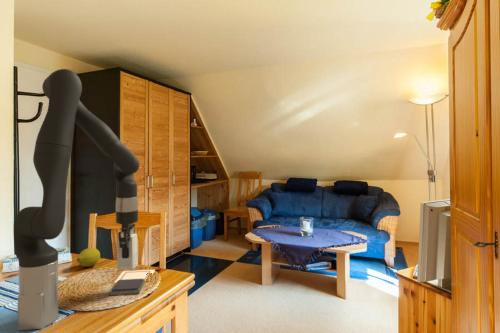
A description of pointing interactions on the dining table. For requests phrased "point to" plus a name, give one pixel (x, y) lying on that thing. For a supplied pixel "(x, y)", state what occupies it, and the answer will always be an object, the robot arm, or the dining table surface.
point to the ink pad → (127, 286)
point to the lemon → (88, 257)
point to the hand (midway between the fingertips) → (127, 255)
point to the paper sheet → (134, 274)
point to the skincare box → (133, 254)
